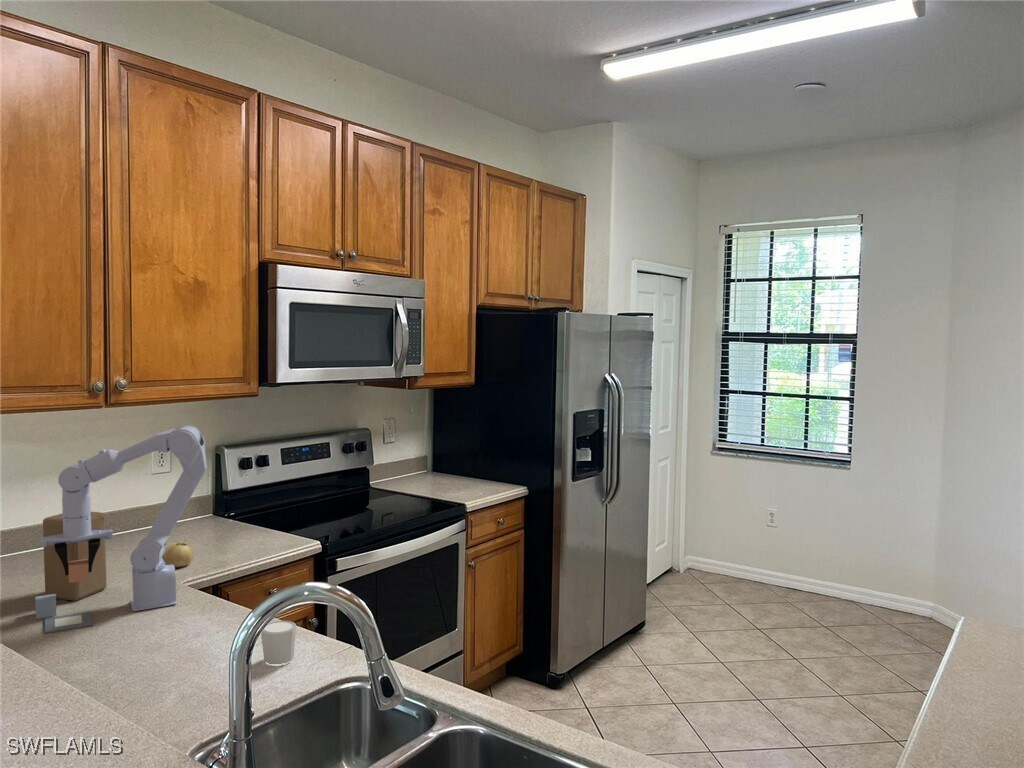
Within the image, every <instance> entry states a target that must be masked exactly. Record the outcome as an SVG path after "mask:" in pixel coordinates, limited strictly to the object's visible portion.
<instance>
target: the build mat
mask: <svg viewBox="0 0 1024 768" xmlns="http://www.w3.org/2000/svg"><path fill="white" fill-rule="evenodd" d="M88 627H93V620H92V613H91V610H90V611H89V610H88V611H84V612H77V613H71V614H64V615H59V616H58V615H56V616H51V617H45V618H44V634H52V633H57V632H65V631H70V630H77V629H81V628H88Z"/></svg>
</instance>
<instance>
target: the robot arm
mask: <svg viewBox="0 0 1024 768" xmlns="http://www.w3.org/2000/svg"><path fill="white" fill-rule="evenodd" d="M205 443H206V440H205V438H204V437H203V435H202V433H201V430H199V428H198V427H196V426H194V425H191V424H184V425H181V426H180V427H178V428H171V429H168V430H165V431H162V432H159V433H156V434H154V435H152V436H150V437H147V438H146V439H144V440H141V441H139V442H137V443H135V444H132V445H130V446H128V447H126V448H124V449H122V450H119V451H118V450H115V449H111V448H110V449H107V450H106V449H105V448H104V449H101V450H99V451H98V452H97V453H98V454H96V455H93V456H91V457H89V458H86V459H84V458H81V459H79V460H77V463H74V464H73V463H72V464H71V465H69V466H68V467H66V468H64V469H63V470H62V471H61V472H60V473H59V475H58V478H57V479H58V480H57V481H58V482H57V483H58V485H59V487H60V488H61V490H62V491H61V492H62V495H61V496H62V498H61V501H62V502H61V504H62V505H61V506H62V507H61V508H62V513H63V534H58V535H53V536H47V537H43V536H41V537H40V547H41V548H44V547H47V546H51V545H55V551H56V553H57V554H58V556H59V558H60V560H61V562H62V564H63V567H64V570H65V575H69V567H68V559H67V544H68V543H77V542H85V541H88V554H89V557H88V571H89V572H92V565H93V561H94V558H95V555H96V553H97V551H98V549H99V547H100V540H103V539H105V540H114V534H113V533H114V532H113V529H112V528H111V529H105V530H92V531H91V512H92V511H91V510H92V507H91V504H92V503H91V493H90V491H91V490H90V483H96V482H98V481H102V480H104V479H105V478H108V477H110V476H112V475H115V474H118V473H119V472H121V471H122V470H123V468H124V465H125V464H127V463H128V462H131V461H134V460H136V459H139V458H141V457H144V456H146V455H149V454H151V453H154V452H162V453H168V452H170V451H171V453H172V454H173V455H174V456H175V457H177V459H178V461H179V463H180V465H181V467H182V469H183V471H182V472H181V474H180V476H179V478H178V480H177V482H176V484H174V487H173V489H172V490H171V492H170V494H169V496H168V498H167V499H166V500H165V503H164V505H163V506H162V508H161V510H160V512H159V514H158V515H157V518H156V519H155V521H154V523H153V524H152V525H151V528H150V530H149V531H148V533H147V534H146V535H145V537H144V538H142V539H141V541H139V543H138V545H137V546H136V548H135V549H133V551H132V552H131V553H130V560H129V561H130V563H131V565H132V567H131V571H132V574H131V575H132V598H131V599H130V600H129V602H130V605H131V610H132V611H133V612H137V611H144V610H149V609H157V608H163V607H169V606H174V605H177V584H176V583H177V581H176V580H177V577H176V567H174V565H166V564H165V562H164V560H163V559H162V556H163V555H164V553H165V551H166V548H167V543H168V542H167V541H168V540H169V537H170V536H171V534H172V532H173V530H174V528H175V526H176V525H177V523H178V521H179V519H180V517H181V515H183V512H184V510H185V508H186V506H187V505H188V504H189V501H190V499H192V496H193V494H194V492H195V490H196V489H197V487H198V485H199V483H200V481H201V480H202V477H203V476H204V474H205V472H206V470H207V469H208V468H207V456H206V444H205Z"/></svg>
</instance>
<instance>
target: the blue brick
mask: <svg viewBox="0 0 1024 768" xmlns="http://www.w3.org/2000/svg"><path fill="white" fill-rule="evenodd" d="M34 604H35V606H34V607H35V619H36V620H37V619H38V620H39V619H45V618H51V617H57V598H56V594H51V595H45V594H44V595H38V596H35V602H34Z"/></svg>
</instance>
